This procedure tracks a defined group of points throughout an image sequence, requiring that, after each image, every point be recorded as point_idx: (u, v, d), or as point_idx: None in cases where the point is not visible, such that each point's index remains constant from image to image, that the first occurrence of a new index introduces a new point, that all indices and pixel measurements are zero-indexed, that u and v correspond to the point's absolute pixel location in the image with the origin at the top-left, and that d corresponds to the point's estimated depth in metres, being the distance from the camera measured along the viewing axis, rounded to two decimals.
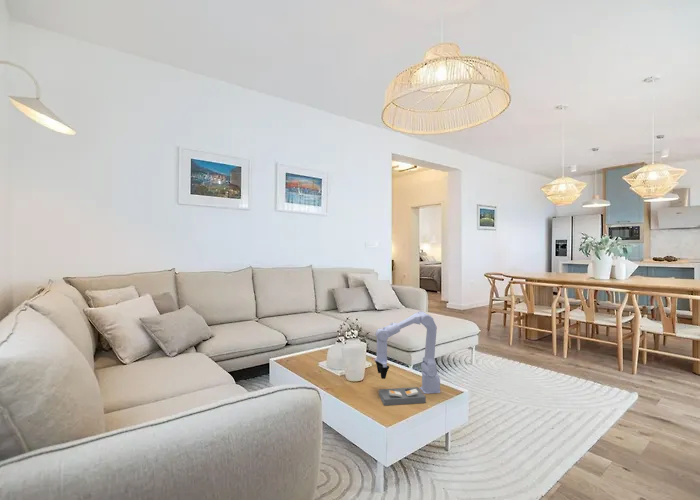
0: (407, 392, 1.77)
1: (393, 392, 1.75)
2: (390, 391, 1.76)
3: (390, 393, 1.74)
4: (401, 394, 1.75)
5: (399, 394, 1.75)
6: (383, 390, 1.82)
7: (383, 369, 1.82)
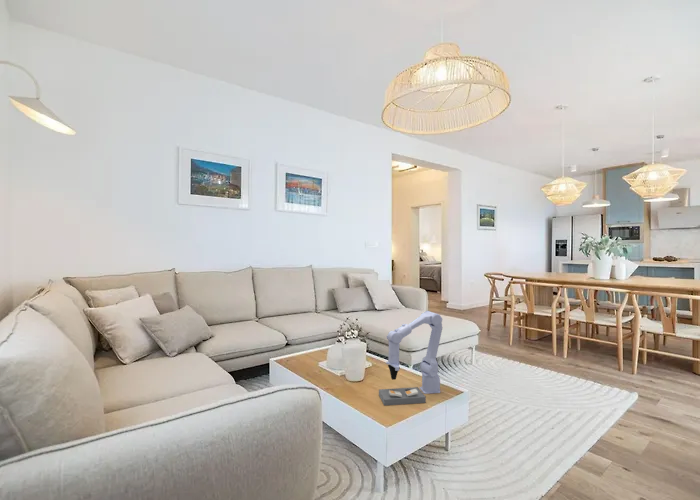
0: (407, 392, 1.77)
1: (393, 392, 1.75)
2: (390, 391, 1.76)
3: (390, 393, 1.74)
4: (401, 394, 1.75)
5: (399, 394, 1.75)
6: (383, 390, 1.82)
7: (393, 370, 1.81)
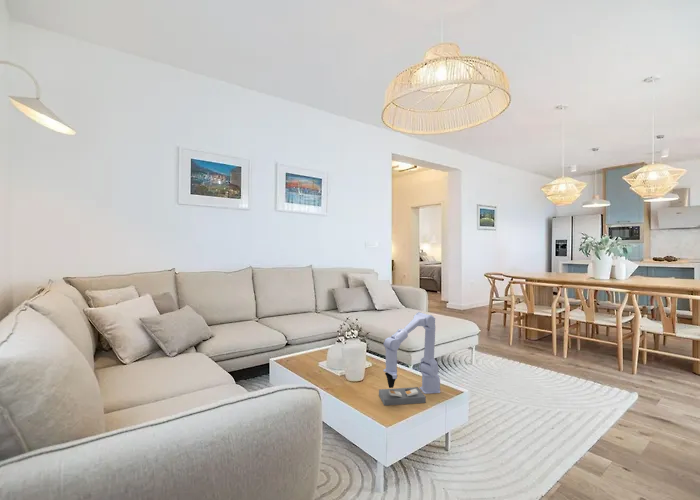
0: (407, 392, 1.77)
1: (393, 392, 1.75)
2: (390, 391, 1.76)
3: (390, 393, 1.74)
4: (401, 394, 1.75)
5: (399, 394, 1.75)
6: (383, 390, 1.82)
7: (391, 378, 1.75)
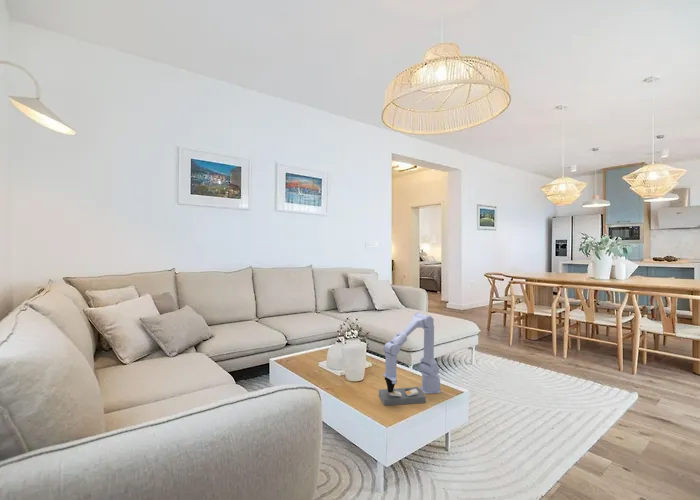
0: (407, 392, 1.77)
1: (393, 392, 1.75)
2: None
3: (390, 393, 1.74)
4: (401, 394, 1.75)
5: (399, 394, 1.75)
6: (383, 390, 1.82)
7: (390, 383, 1.75)
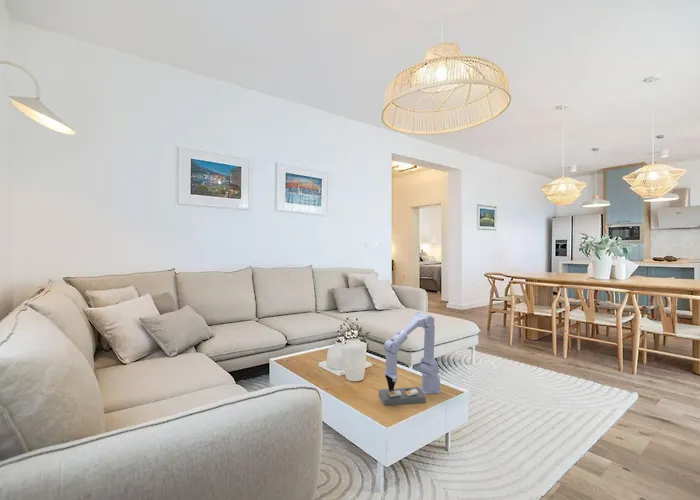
0: (407, 392, 1.77)
1: (392, 393, 1.75)
2: (389, 392, 1.76)
3: (390, 395, 1.74)
4: None
5: (399, 393, 1.75)
6: (383, 390, 1.82)
7: (391, 380, 1.75)
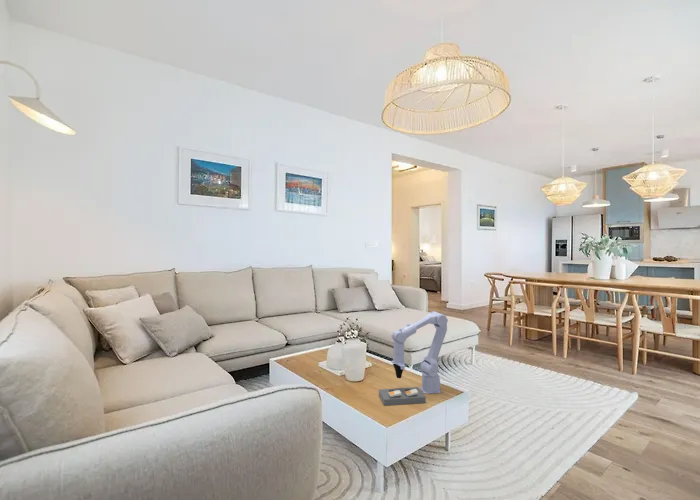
0: (407, 392, 1.77)
1: (392, 393, 1.75)
2: (389, 393, 1.76)
3: (389, 395, 1.74)
4: (400, 392, 1.75)
5: (398, 393, 1.75)
6: (383, 390, 1.82)
7: (399, 369, 1.84)
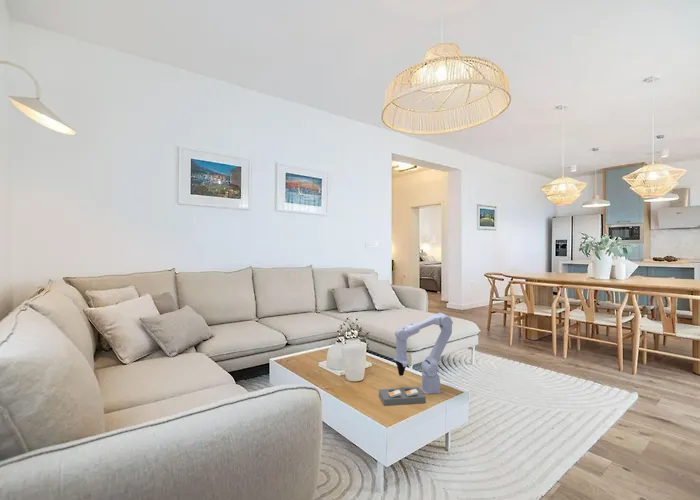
0: (407, 392, 1.77)
1: (392, 393, 1.75)
2: (389, 393, 1.76)
3: None
4: (400, 392, 1.75)
5: (398, 393, 1.75)
6: (383, 390, 1.82)
7: (401, 366, 1.87)
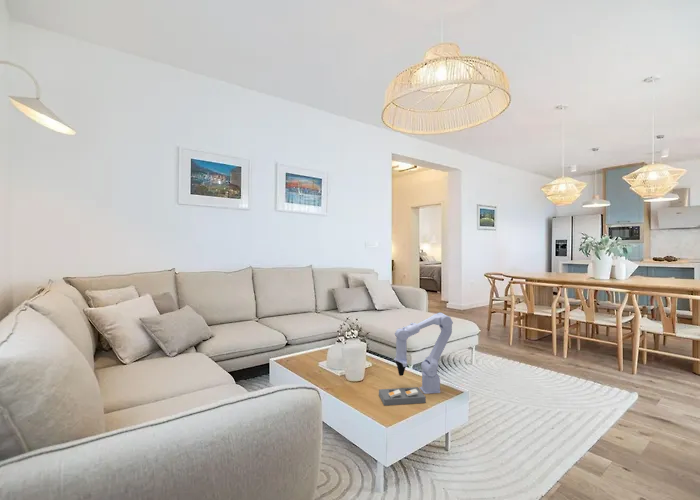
0: (407, 392, 1.77)
1: (392, 393, 1.75)
2: (389, 394, 1.76)
3: None
4: None
5: (398, 393, 1.75)
6: (383, 390, 1.82)
7: (401, 366, 1.87)
